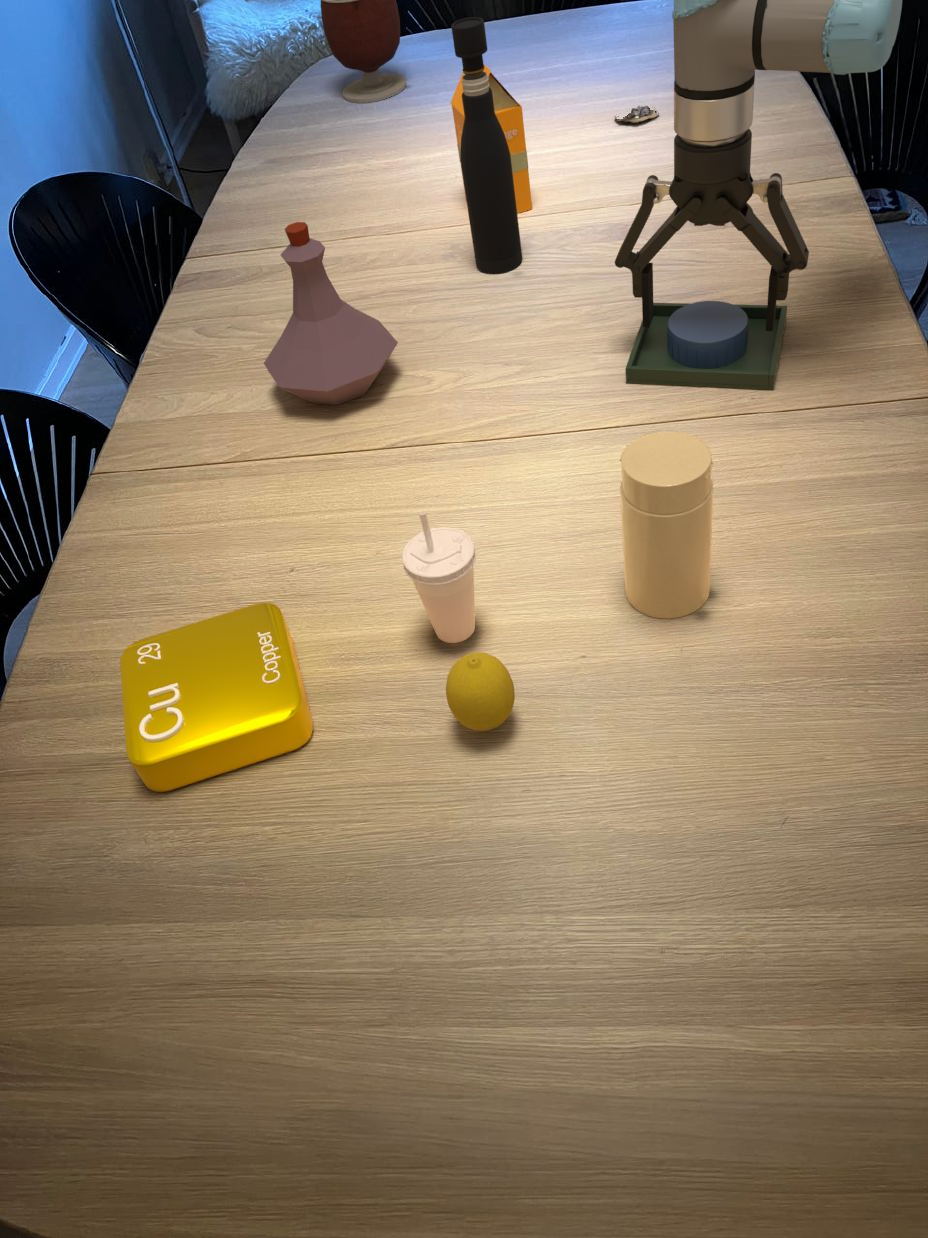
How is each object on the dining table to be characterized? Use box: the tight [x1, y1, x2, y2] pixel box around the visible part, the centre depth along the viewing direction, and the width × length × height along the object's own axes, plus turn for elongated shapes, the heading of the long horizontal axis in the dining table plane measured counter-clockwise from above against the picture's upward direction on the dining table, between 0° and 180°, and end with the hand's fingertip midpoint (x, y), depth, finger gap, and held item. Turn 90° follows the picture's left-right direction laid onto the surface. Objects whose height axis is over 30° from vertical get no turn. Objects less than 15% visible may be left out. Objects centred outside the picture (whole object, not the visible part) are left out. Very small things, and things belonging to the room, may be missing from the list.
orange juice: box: [450, 64, 533, 215], centre depth 147 cm, size 8×9×20 cm
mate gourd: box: [320, 0, 408, 104], centre depth 188 cm, size 16×14×20 cm
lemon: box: [445, 652, 516, 732], centre depth 84 cm, size 6×6×8 cm
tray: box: [625, 302, 788, 391], centre depth 119 cm, size 16×14×2 cm
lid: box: [667, 300, 748, 369], centre depth 118 cm, size 9×9×3 cm
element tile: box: [119, 602, 314, 793], centre depth 90 cm, size 15×15×5 cm
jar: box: [619, 430, 714, 620], centre depth 89 cm, size 8×8×15 cm
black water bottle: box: [450, 16, 523, 275], centre depth 131 cm, size 6×6×30 cm
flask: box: [263, 221, 399, 406], centre depth 119 cm, size 16×16×20 cm
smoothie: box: [401, 510, 478, 644], centre depth 90 cm, size 6×6×14 cm
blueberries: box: [614, 105, 660, 124], centre depth 168 cm, size 7×8×2 cm
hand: (708, 323), depth 117 cm, fingers open, 13 cm apart
